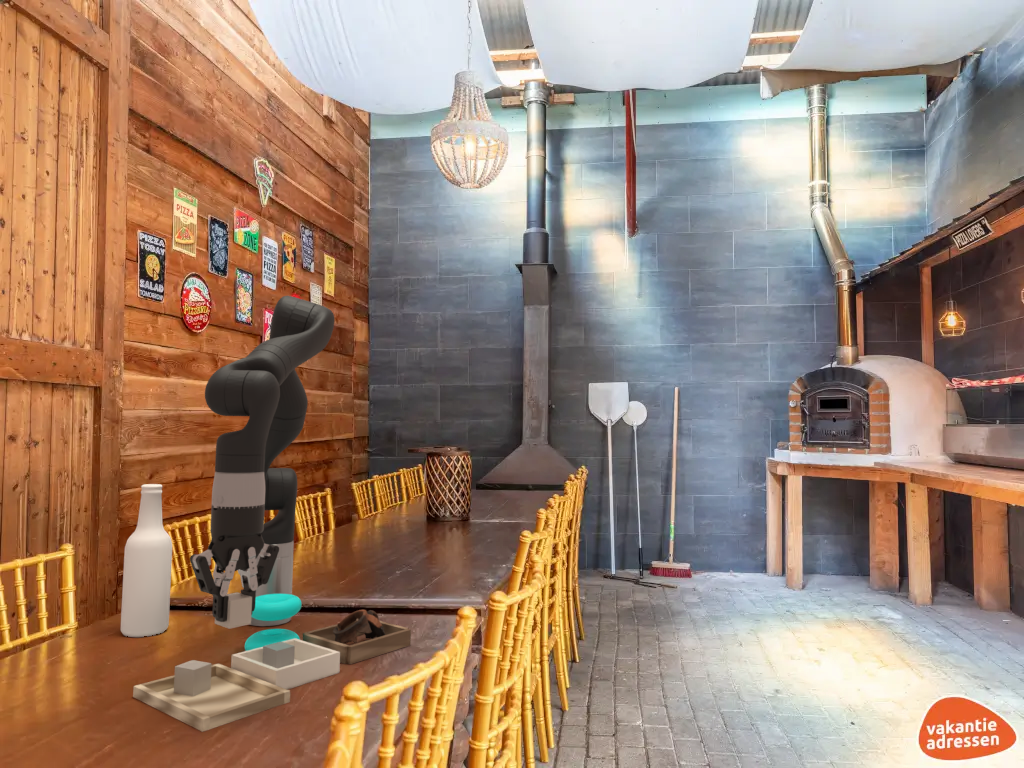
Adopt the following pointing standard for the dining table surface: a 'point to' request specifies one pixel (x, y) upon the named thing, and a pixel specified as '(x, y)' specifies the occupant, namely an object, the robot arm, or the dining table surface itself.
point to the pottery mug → (358, 626)
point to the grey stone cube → (192, 678)
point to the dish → (306, 667)
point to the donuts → (273, 618)
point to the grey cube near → (237, 611)
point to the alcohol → (147, 570)
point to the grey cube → (278, 654)
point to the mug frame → (363, 650)
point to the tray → (214, 698)
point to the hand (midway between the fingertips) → (233, 617)
